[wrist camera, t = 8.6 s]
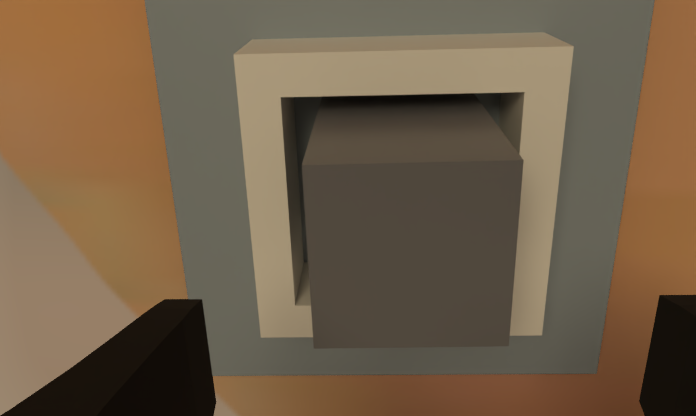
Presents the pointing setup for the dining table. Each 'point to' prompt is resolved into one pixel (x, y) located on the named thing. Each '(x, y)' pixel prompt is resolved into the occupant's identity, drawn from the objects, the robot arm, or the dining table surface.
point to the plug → (410, 222)
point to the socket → (395, 79)
